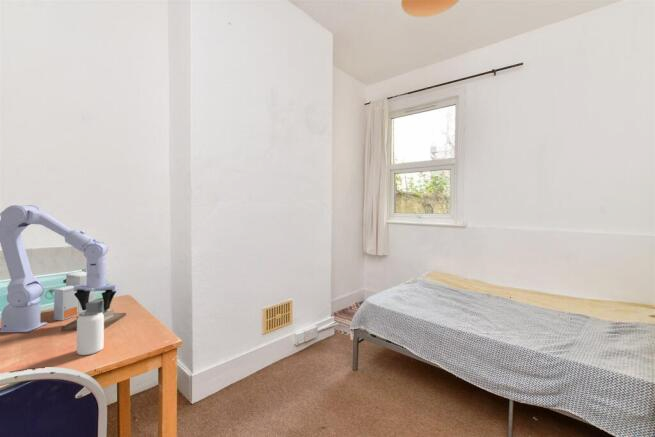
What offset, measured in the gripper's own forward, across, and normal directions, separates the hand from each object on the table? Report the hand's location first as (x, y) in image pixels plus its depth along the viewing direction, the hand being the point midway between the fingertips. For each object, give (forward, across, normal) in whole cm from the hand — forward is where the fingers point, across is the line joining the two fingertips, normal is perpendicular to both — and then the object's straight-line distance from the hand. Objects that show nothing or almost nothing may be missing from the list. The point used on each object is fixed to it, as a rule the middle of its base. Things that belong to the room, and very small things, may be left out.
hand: (96, 309), depth 112 cm
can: (+5, +13, -23) cm, 27 cm away
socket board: (+5, 0, 0) cm, 5 cm away
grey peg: (+4, 0, 0) cm, 4 cm away
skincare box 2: (+5, -15, +14) cm, 21 cm away
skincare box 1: (+5, -14, +5) cm, 16 cm away
